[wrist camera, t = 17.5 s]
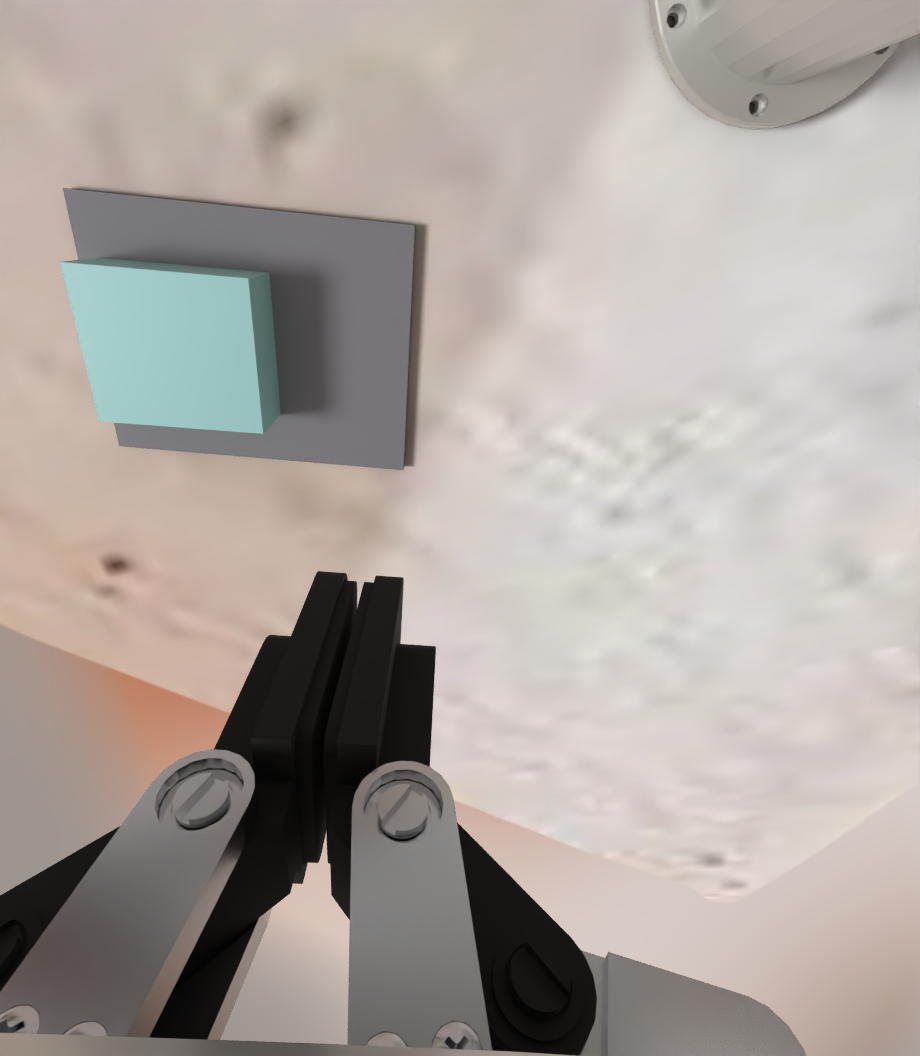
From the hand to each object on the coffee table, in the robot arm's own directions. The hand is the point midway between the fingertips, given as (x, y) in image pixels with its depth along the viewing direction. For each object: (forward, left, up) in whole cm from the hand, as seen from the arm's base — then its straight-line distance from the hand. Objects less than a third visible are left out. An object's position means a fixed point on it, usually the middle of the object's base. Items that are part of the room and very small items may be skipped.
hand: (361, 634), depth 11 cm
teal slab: (0, -9, -23) cm, 24 cm away
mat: (0, -10, -25) cm, 27 cm away
